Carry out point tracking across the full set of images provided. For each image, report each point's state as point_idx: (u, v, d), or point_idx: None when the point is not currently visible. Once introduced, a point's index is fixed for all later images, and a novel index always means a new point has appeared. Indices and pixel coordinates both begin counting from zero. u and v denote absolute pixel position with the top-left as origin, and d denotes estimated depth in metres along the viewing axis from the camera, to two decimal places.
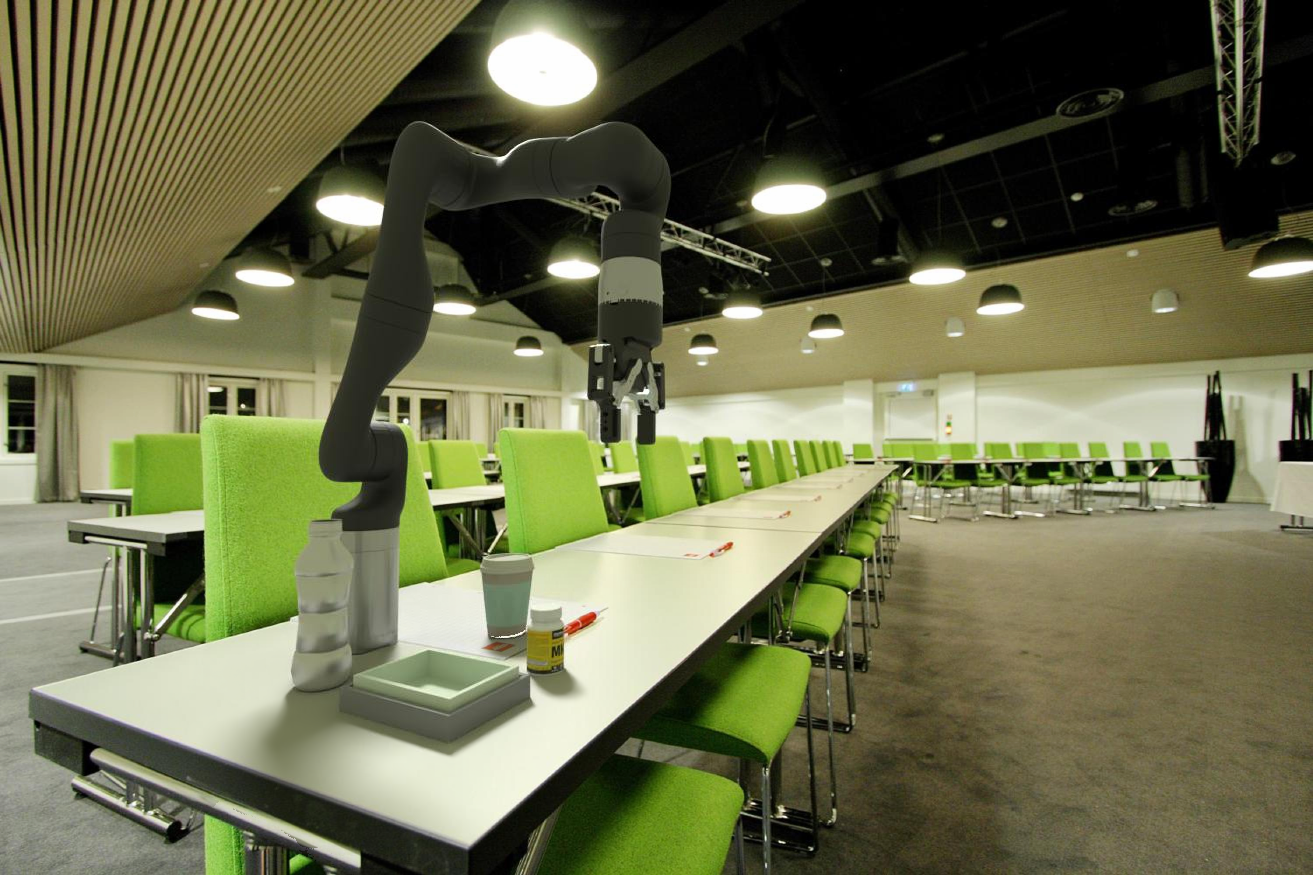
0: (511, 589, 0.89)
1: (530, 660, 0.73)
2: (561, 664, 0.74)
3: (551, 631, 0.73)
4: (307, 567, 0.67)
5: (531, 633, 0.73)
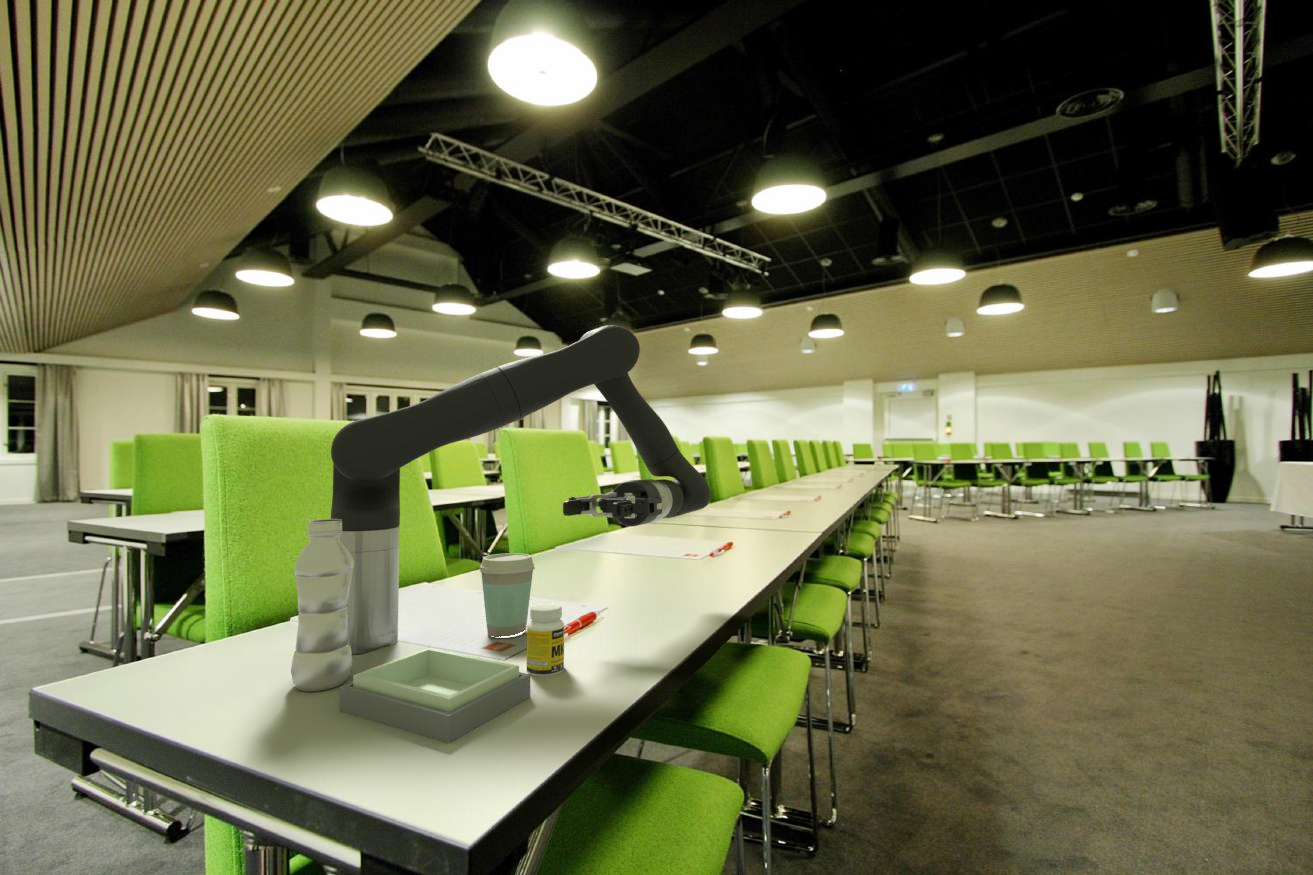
0: (511, 589, 0.89)
1: (530, 660, 0.73)
2: (561, 664, 0.74)
3: (551, 631, 0.73)
4: (307, 567, 0.67)
5: (531, 633, 0.73)
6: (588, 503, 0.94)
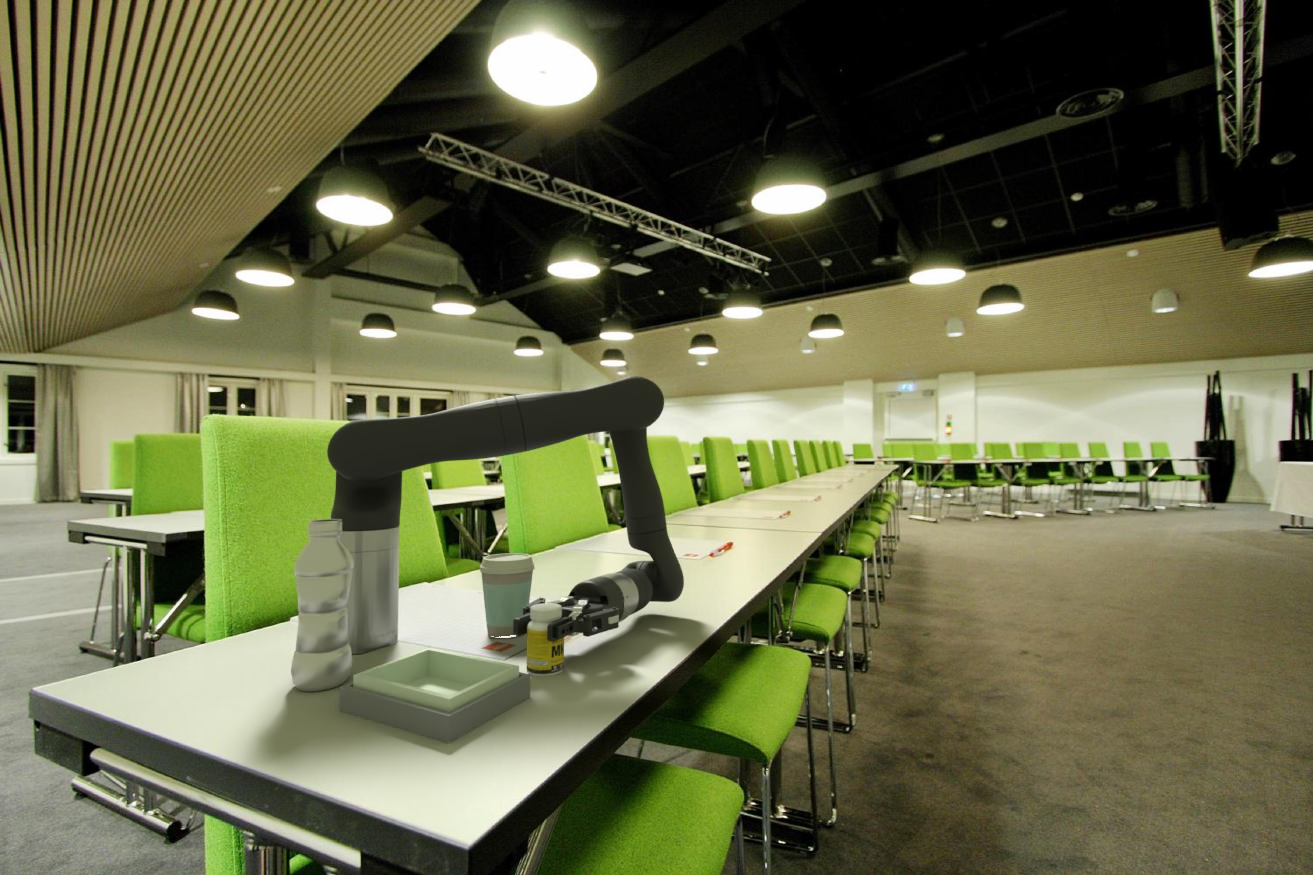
0: (511, 589, 0.89)
1: (530, 660, 0.73)
2: (561, 664, 0.74)
3: None
4: (307, 567, 0.67)
5: (531, 632, 0.73)
6: None
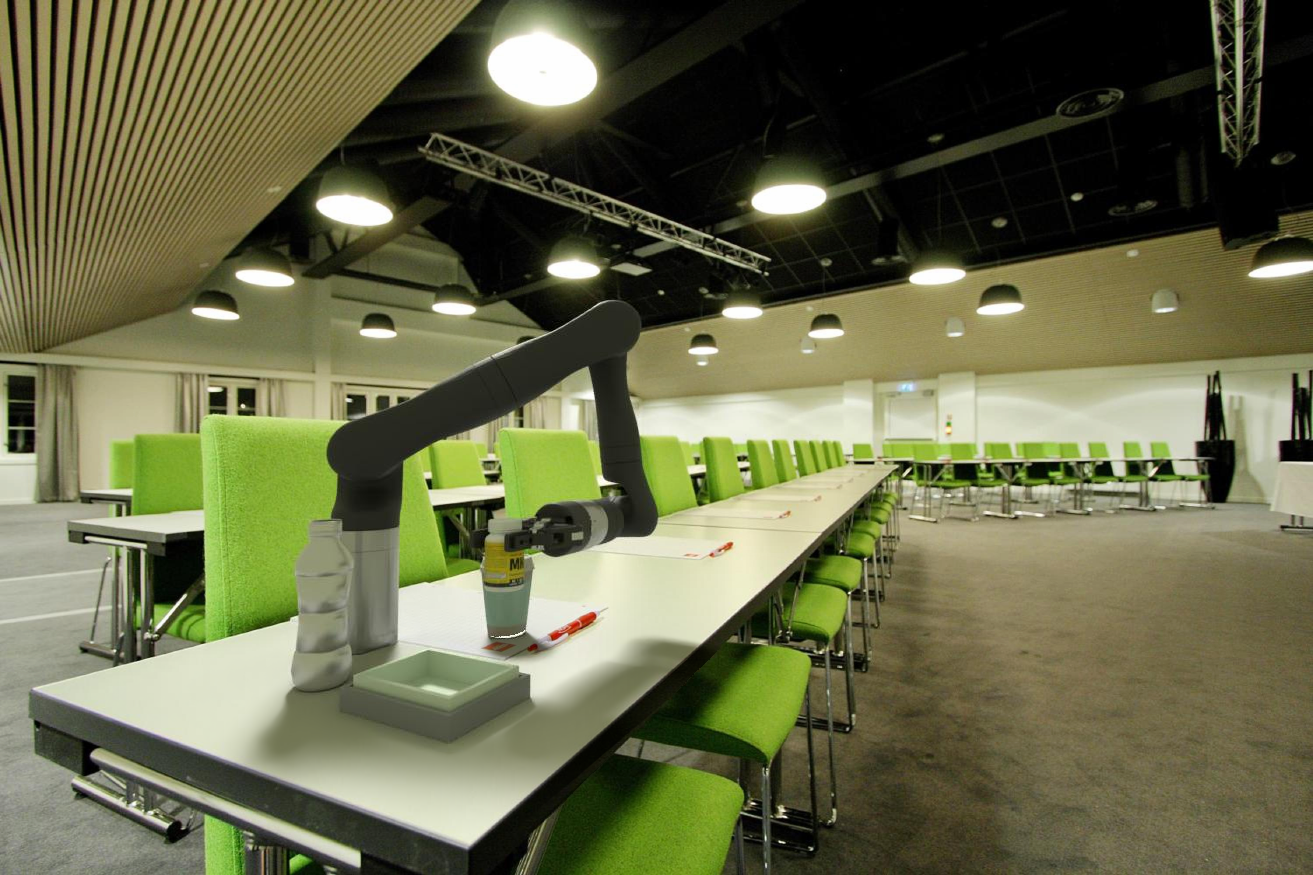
0: None
1: (487, 573, 0.69)
2: (521, 579, 0.70)
3: None
4: (307, 567, 0.67)
5: (488, 544, 0.69)
6: None
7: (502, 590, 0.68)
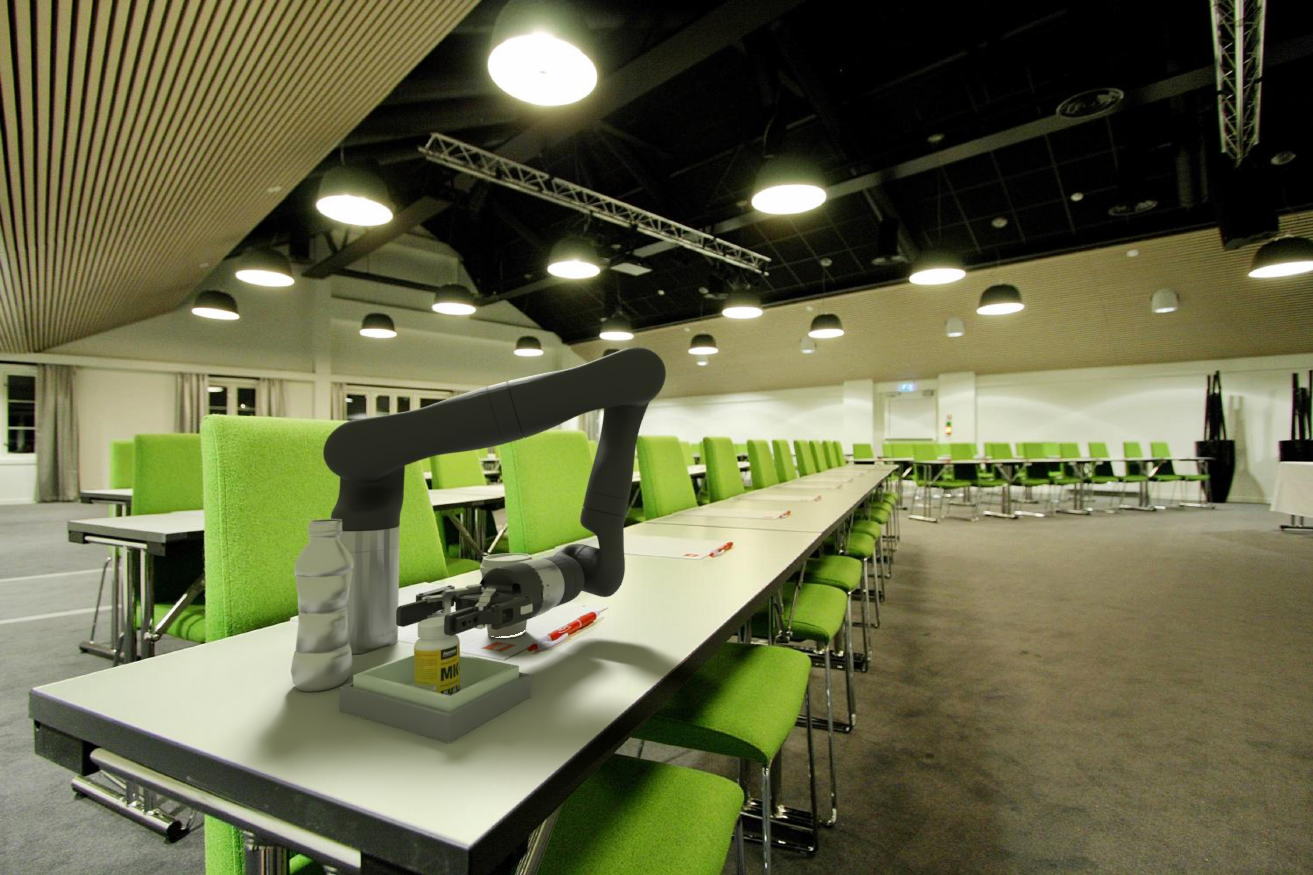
0: None
1: (416, 684, 0.62)
2: (455, 688, 0.63)
3: (440, 651, 0.62)
4: (307, 567, 0.67)
5: (417, 653, 0.62)
6: None
7: None
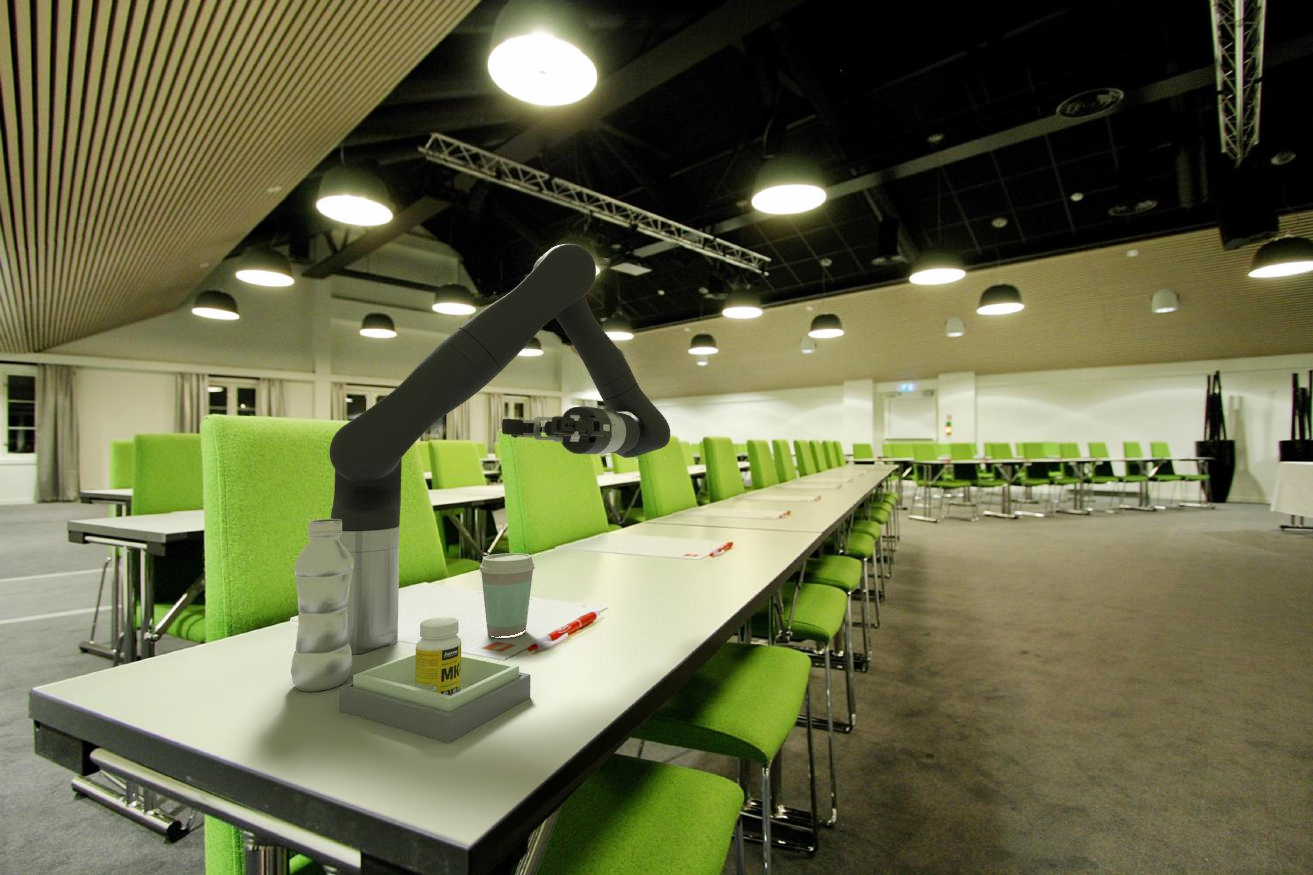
0: (511, 589, 0.89)
1: (416, 684, 0.62)
2: (455, 689, 0.63)
3: (441, 651, 0.62)
4: (307, 567, 0.67)
5: (418, 652, 0.62)
6: None
7: None
